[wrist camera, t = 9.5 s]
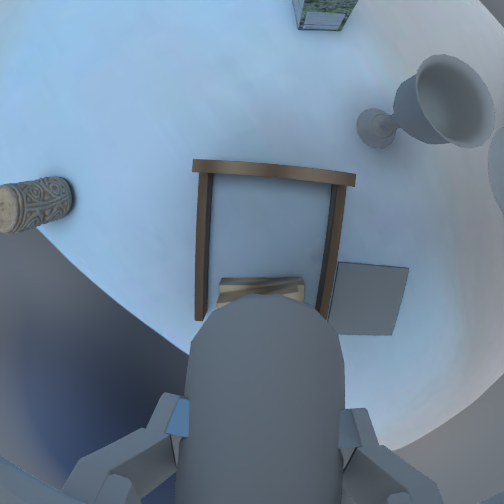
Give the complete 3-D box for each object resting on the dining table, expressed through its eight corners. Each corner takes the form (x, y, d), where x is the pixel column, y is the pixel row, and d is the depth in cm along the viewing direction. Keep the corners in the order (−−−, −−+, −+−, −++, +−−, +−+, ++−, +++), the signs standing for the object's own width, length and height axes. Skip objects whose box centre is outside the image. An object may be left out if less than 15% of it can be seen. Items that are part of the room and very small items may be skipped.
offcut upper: (296, 281, 35) (298, 292, 32) (301, 319, 36) (303, 331, 33) (220, 293, 36) (216, 303, 33) (229, 329, 37) (225, 341, 34)
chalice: (403, 109, 31) (492, 75, 13) (400, 160, 33) (494, 159, 15) (349, 96, 31) (413, 40, 14) (346, 150, 33) (414, 133, 15)
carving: (40, 179, 36) (-17, 187, 24) (77, 172, 35) (17, 177, 24) (44, 220, 37) (-11, 238, 26) (80, 217, 37) (23, 236, 25)
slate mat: (408, 267, 36) (409, 268, 36) (390, 334, 39) (391, 335, 38) (338, 261, 36) (338, 262, 36) (325, 332, 39) (325, 333, 39)
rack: (341, 173, 34) (361, 174, 26) (320, 320, 39) (330, 354, 31) (205, 161, 34) (187, 159, 26) (199, 310, 39) (184, 341, 31)
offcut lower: (301, 276, 38) (304, 284, 35) (300, 315, 39) (302, 326, 36) (222, 276, 38) (218, 285, 35) (225, 315, 40) (222, 326, 37)
